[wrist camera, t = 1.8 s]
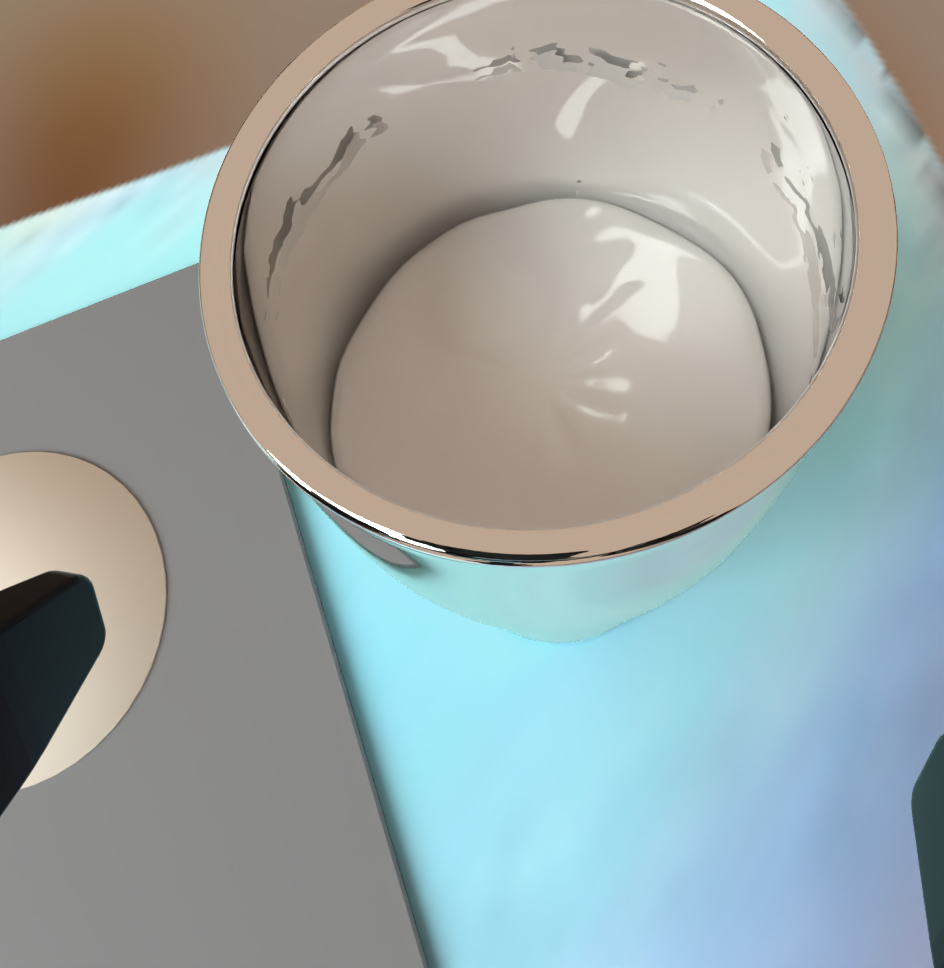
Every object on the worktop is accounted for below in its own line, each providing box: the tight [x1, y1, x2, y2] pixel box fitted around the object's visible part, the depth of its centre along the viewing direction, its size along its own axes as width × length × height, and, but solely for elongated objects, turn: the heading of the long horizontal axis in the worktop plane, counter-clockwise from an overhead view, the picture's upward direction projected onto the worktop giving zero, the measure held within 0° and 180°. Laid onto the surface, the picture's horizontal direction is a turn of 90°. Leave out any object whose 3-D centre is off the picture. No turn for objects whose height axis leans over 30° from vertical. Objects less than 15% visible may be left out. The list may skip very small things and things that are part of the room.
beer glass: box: [199, 0, 898, 643], centre depth 14 cm, size 7×7×15 cm
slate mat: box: [0, 263, 428, 968], centre depth 22 cm, size 22×18×1 cm
